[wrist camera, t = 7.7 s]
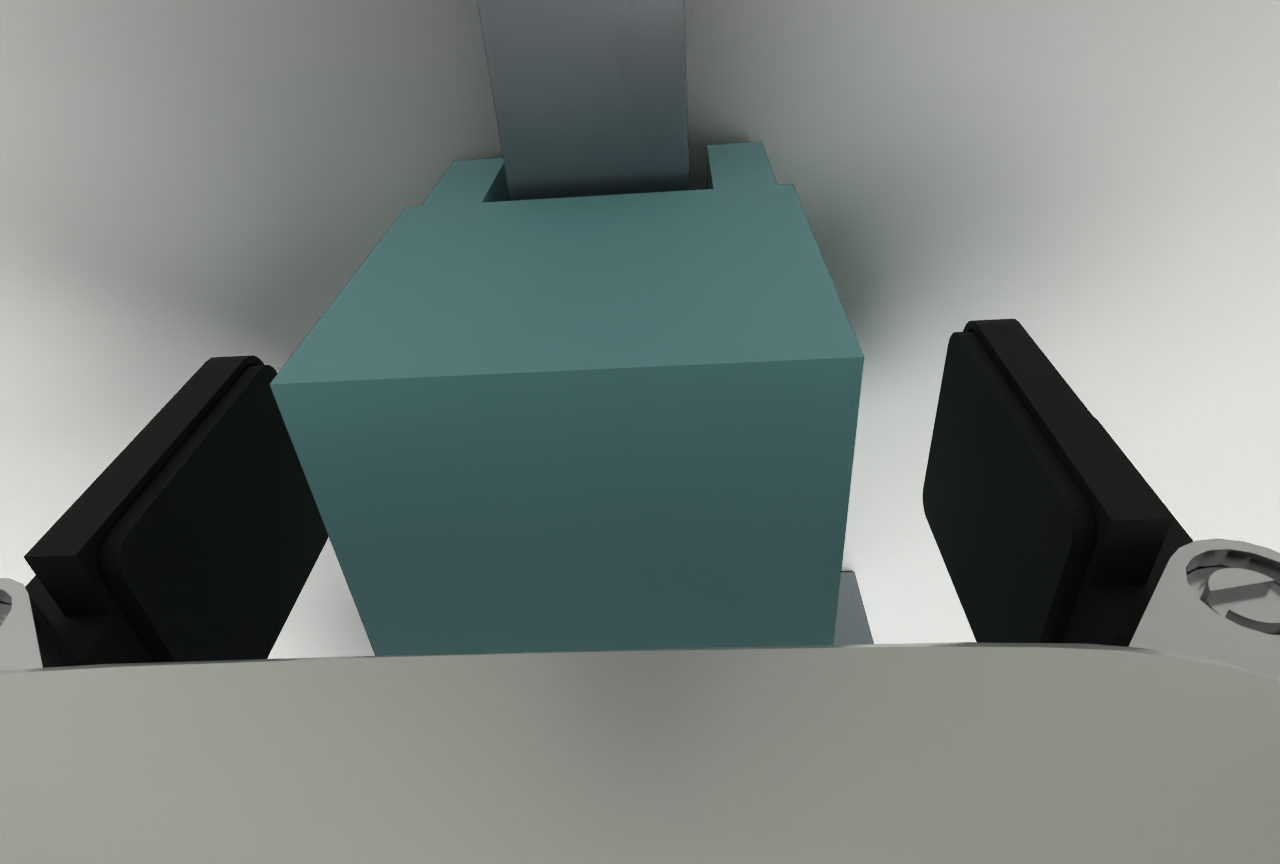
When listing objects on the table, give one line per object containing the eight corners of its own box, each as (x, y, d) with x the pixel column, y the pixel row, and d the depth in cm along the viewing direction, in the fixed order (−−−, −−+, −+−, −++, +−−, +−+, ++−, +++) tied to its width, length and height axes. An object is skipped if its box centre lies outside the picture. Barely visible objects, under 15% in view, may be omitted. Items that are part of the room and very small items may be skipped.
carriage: (441, 161, 12) (269, 385, 7) (774, 141, 12) (864, 357, 7) (506, 474, 15) (425, 783, 10) (765, 465, 15) (819, 776, 10)
